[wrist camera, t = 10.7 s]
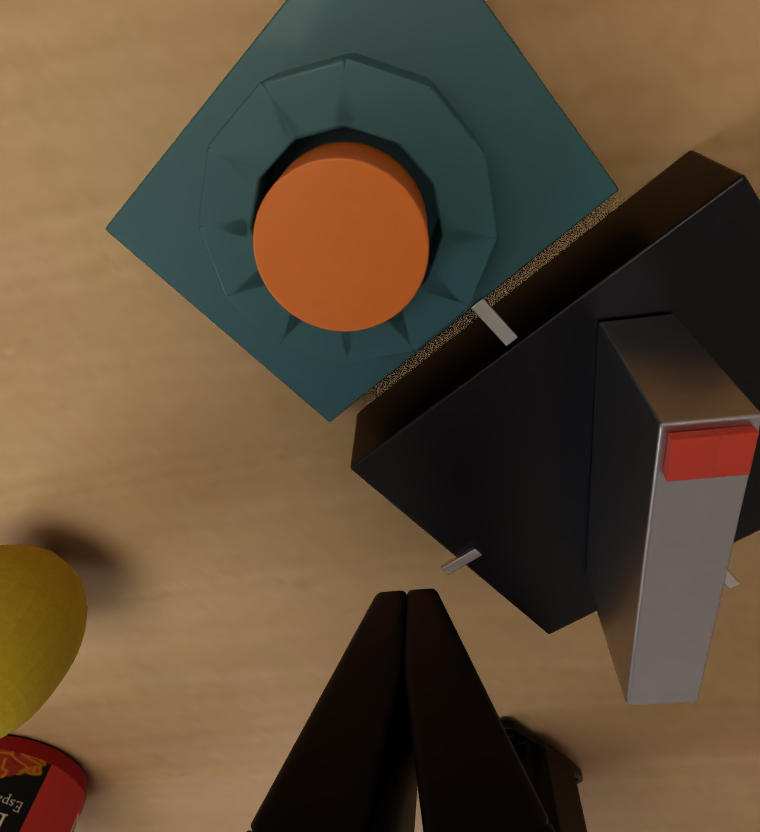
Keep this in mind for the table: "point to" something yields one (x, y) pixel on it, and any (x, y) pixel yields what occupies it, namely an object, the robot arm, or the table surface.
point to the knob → (663, 501)
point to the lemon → (36, 629)
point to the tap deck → (564, 387)
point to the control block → (380, 128)
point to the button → (343, 237)
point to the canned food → (38, 787)
